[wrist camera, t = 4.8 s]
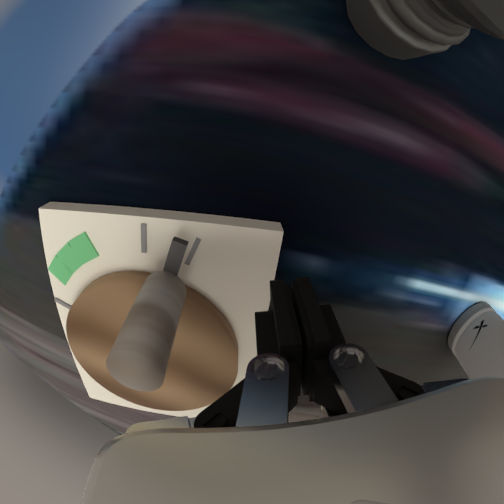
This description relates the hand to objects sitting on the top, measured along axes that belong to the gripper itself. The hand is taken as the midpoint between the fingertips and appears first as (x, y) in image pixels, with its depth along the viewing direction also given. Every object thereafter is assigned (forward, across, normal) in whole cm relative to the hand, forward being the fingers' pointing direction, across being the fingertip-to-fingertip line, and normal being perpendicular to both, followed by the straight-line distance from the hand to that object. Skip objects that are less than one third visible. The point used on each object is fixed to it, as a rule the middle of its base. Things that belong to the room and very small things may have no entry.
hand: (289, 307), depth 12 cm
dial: (+5, +9, +5) cm, 11 cm away
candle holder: (+7, -8, -15) cm, 19 cm away
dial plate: (+7, +10, +7) cm, 13 cm away
